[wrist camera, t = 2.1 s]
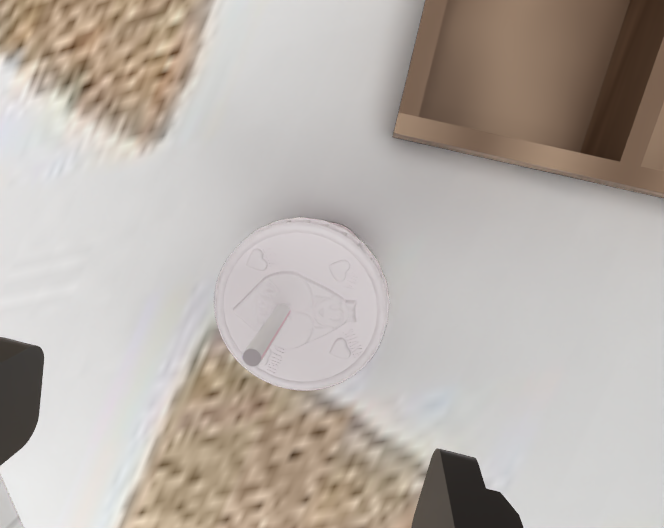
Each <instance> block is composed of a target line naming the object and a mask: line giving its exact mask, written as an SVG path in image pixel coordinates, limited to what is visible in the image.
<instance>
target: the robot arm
mask: <svg viewBox="0 0 664 528" xmlns="http://www.w3.org/2000/svg"><path fill="white" fill-rule="evenodd" d="M43 365H44V354H43V351H42V349H41V348H40V347H38V346H35V345H31V344H27V343H23V342H19V341H15V340H11V339H8V338H3V337H0V465H2V464H3V463H4V462H5V461H6V460H8V459H9V458H10V457H11V456H13V455H14V454H15V453H16V452H18V451H19V450H20V449H21V448H22V447H23V446H24V445H25V444H26V443H27V441H28V440H29V439H30V437H31V436H32V434H33V432H34V430H35V427H36V425H37V422H38V417H39V409H40V398H41V387H42V376H43ZM412 528H523V525H522V522H521V520H520V517H519V514H518V513H517V512H516V511H515V510H514V508H513V507H512V506H511V505H510V504H509V502H508V501H507V500H506V499H505V497H504V496H503V495H502V494H501V493H500V492H497V491H493V490H489V489H486V488H485V484H484V481H483V478H482V475H481V471H480V468H479V465H478V462H477V460H476V458H474V457H470V456H466V455H462V454H458V453H454V452H450V451H446V450H442V449H436V450H435V451H434V453H433V455H432V458H431V461H430V464H429V468H428V471H427V474H426V478H425V481H424V484H423V488H422V491H421V494H420V498H419V501H418V504H417V508H416V511H415V514H414V518H413V523H412Z"/></svg>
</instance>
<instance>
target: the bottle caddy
mask: <svg viewBox="0 0 664 528" xmlns="http://www.w3.org/2000/svg"><path fill="white" fill-rule="evenodd" d="M393 137H394V138H399V139H403V140H408V141H412V142H417V143H421V144H425V145H430V146H434V147H439V148H443V149H448V150H452V151H457V152H461V153H465V154H470V155H474V156H479V157H483V158H488V159H492V160H496V161H501V162H505V163H510V164H514V165H519V166H523V167H528V168H532V169H536V170H541V171H545V172H550V173H554V174H559V175H563V176H567V177H572V178H576V179H581V180H585V181H590V182H594V183H599V184H603V185H607V186H612V187H616V188H621V189H625V190H630V191H634V192H638V193H643V194H647V195H652V196H656V197H661V198H664V0H425V4H424V8H423V13H422V17H421V21H420V25H419V29H418V33H417V37H416V42H415V46H414V50H413V54H412V58H411V62H410V66H409V70H408V75H407V79H406V83H405V87H404V91H403V95H402V99H401V104H400V108H399V112H398V116H397V120H396V124H395V128H394V133H393Z"/></svg>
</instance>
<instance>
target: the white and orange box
mask: <svg viewBox="0 0 664 528" xmlns="http://www.w3.org/2000/svg"><path fill="white" fill-rule="evenodd" d="M0 528H24V527H23V524H22V522H21V520H20V518H19V515H18V513H17V511H16V508H15V506H14V504H13V502H12V499H11V497H10V495H9V493H8V490H7V488H6V486H5V483H4V481H3V479H2V477H1V474H0Z"/></svg>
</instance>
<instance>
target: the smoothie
mask: <svg viewBox="0 0 664 528" xmlns="http://www.w3.org/2000/svg"><path fill="white" fill-rule="evenodd" d="M389 307H390V302H389V294H388V286H387V281H386V279H385V276H384V274H383V272H382V269H381V267H380V264H379V262H378V260H377V259H376V258H375V257H374V255H373V254H372V253H371V251H370V250H369V249H368V248H367V246H366V245H365V244H364V243H363V242H362V241H361V240H359V239H358V238H357V237H356V235H355V234H354V233H353V232H352V231H351V230H350V229H348V228H347V227H345V226H343V225H340V224H337V223H330V222H327V221H325V220H319V219H311V218H304V217H298V218H291V219H283V220H277V221H275V222H273V223H270V224H268V225H266V226H263V227H261V228H259V229H257V230H256V231H255V232H253V233H252V234H251V235H250V236H248V237H247V238H246V239H245V240H243V241H242V242H241V243H240V244H239V245H238V246H237V247H236V248H235V249H234V250H233V252H232V253H231V254H230V255H229V257H228V258H227V260H226V261H225V263H224V265H223V267H222V269H221V271H220V274H219V276H218V279H217V283H216V288H215V295H214V310H215V318H216V322H217V326H218V329H219V332H220V334H221V337H222V339H223V341H224V343H225V345H226V346H227V348H228V349H229V351H230V352H231V354H232V355H233V356H234V357H235V359H236V360H237V361H238V362H239V363H240V364H241V365H242V366H243V367H244V368H245V369H247V370H248V371H249V372H250V373H252V374H253V375H255V376H256V377H258V378H260V379H261V380H263V381H265V382H268V383H270V384H272V385H275V386H278V387H282V388H286V389H291V390H302V391H303V390H318V389H323V388H328V387H331V386H334V385H337V384H339V383H341V382H343V381H345V380H347V379H349V378H350V377H352V376H353V375H355V374H356V373H357V372H359V371H360V370H361V369H362V368H363V367H364V366H365V365H366V364H367V363H368V362H369V361H370V359H371V358H372V357H373V355H374V354H375V352H376V351H377V349H378V347H379V345H380V343H381V341H382V338H383V336H384V332H385V328H386V326H387V320H388V313H389Z"/></svg>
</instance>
